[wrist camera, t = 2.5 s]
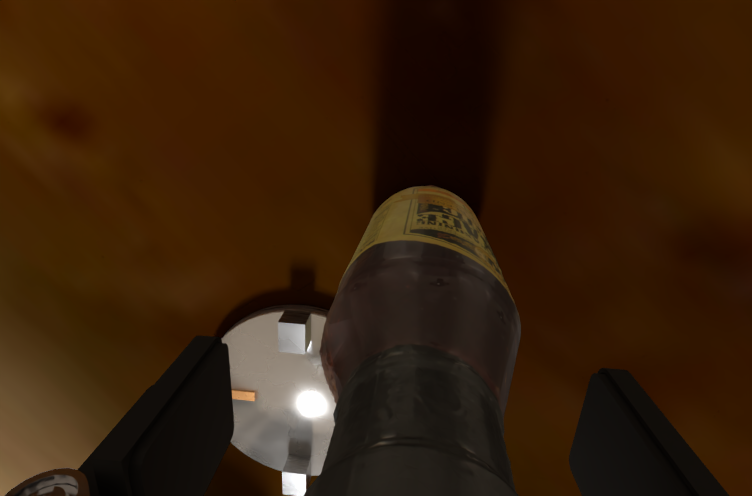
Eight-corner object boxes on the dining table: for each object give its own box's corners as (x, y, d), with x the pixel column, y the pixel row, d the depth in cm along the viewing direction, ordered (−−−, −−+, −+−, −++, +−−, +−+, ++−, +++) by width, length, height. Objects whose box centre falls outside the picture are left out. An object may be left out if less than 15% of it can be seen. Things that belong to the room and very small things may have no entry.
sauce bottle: (499, 242, 24) (762, 712, 6) (412, 300, 26) (403, 804, 8) (430, 151, 23) (491, 390, 4) (344, 219, 25) (129, 593, 6)
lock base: (405, 311, 26) (404, 333, 24) (391, 473, 31) (389, 506, 29) (203, 292, 27) (182, 313, 25) (219, 453, 32) (202, 484, 29)
